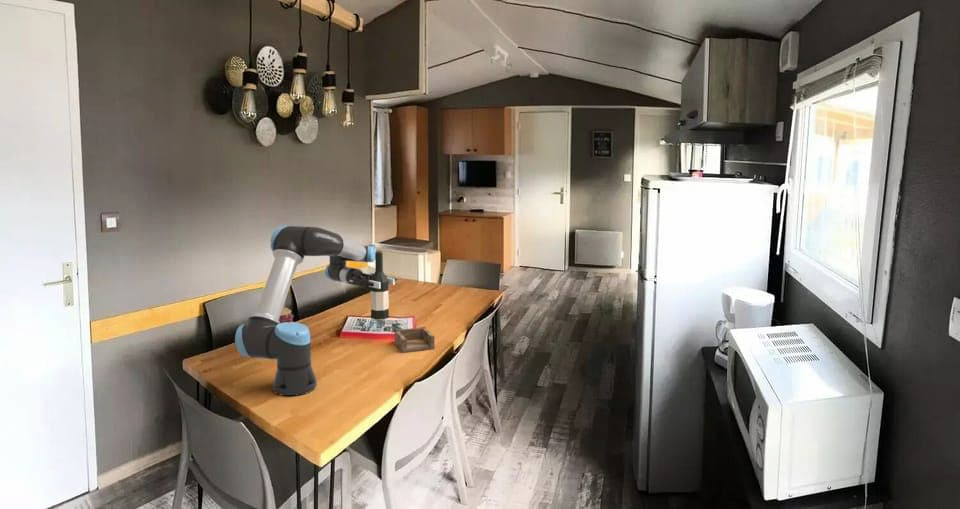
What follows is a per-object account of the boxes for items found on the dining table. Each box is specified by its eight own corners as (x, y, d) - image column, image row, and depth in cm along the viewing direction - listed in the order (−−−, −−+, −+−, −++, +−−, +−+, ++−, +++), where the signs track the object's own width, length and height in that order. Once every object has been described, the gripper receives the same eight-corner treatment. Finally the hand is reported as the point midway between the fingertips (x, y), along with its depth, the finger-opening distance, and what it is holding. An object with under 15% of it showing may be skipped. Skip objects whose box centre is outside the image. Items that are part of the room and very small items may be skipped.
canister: (263, 339, 252) (261, 301, 249) (294, 336, 257) (292, 299, 253) (263, 349, 240) (261, 309, 237) (295, 345, 245) (293, 307, 242)
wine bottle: (385, 320, 244) (384, 253, 239) (367, 318, 246) (366, 252, 240) (391, 315, 252) (391, 249, 247) (374, 313, 254) (373, 248, 248)
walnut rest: (434, 349, 244) (434, 336, 243) (403, 353, 238) (403, 340, 237) (424, 339, 257) (424, 326, 255) (394, 342, 251) (394, 330, 250)
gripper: (368, 280, 265) (403, 287, 252) (334, 288, 249) (369, 296, 236) (368, 264, 264) (403, 271, 251) (333, 271, 247) (369, 279, 234)
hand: (387, 283), depth 243 cm, fingers closed on wine bottle, 8 cm apart
